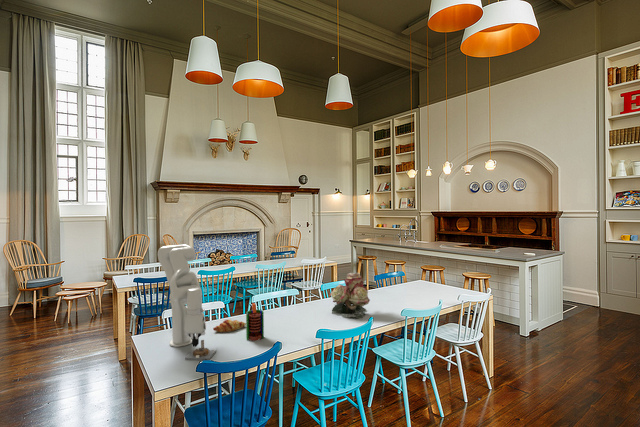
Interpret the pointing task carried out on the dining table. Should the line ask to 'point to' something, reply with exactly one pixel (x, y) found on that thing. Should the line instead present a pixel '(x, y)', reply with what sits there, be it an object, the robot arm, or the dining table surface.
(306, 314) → the dining table surface
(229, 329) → the croissant
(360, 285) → the rose bouquet
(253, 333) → the motor
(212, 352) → the base plate
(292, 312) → the dining table surface
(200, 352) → the sprocket
